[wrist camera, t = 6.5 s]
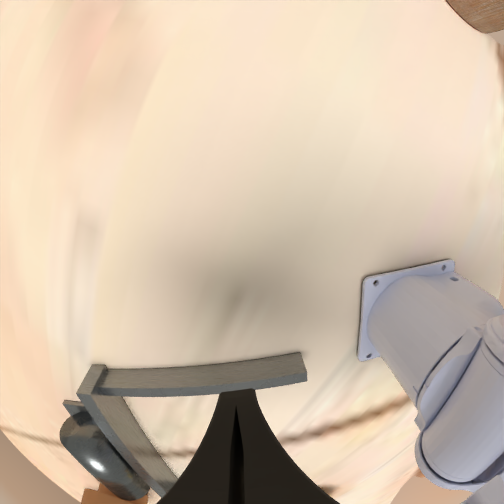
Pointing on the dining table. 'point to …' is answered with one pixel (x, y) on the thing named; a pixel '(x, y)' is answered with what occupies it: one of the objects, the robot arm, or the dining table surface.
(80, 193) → the dining table surface
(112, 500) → the bracket
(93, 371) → the frame
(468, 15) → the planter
